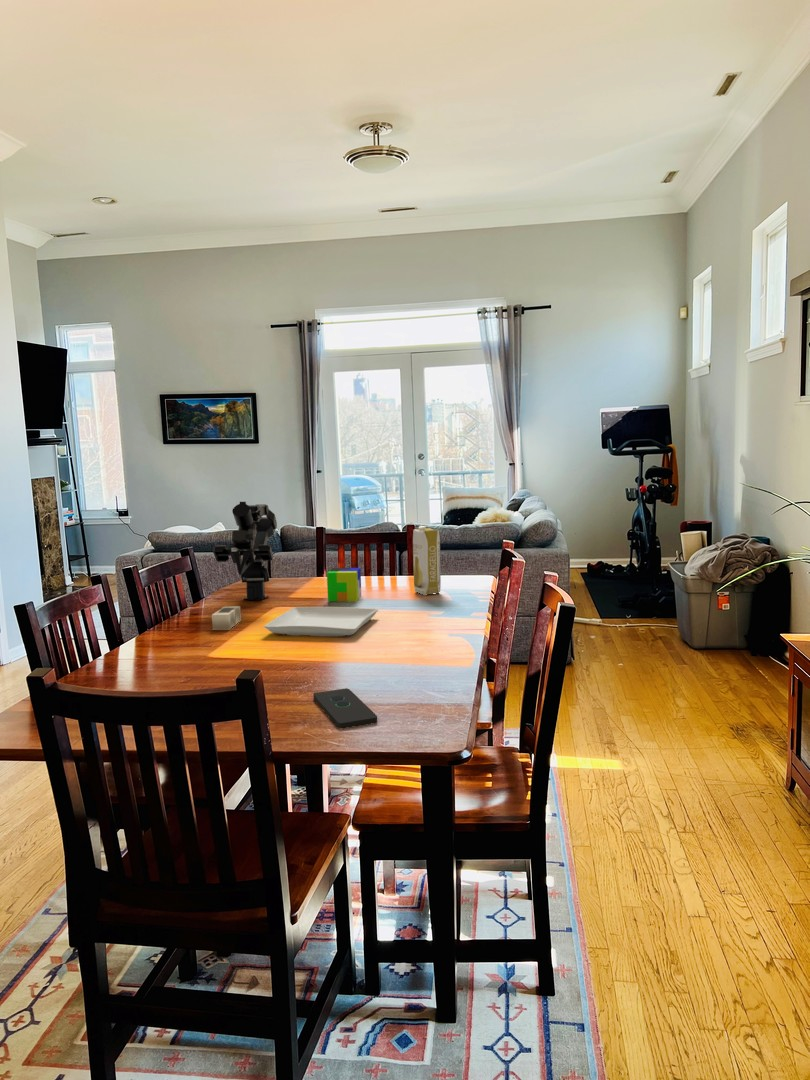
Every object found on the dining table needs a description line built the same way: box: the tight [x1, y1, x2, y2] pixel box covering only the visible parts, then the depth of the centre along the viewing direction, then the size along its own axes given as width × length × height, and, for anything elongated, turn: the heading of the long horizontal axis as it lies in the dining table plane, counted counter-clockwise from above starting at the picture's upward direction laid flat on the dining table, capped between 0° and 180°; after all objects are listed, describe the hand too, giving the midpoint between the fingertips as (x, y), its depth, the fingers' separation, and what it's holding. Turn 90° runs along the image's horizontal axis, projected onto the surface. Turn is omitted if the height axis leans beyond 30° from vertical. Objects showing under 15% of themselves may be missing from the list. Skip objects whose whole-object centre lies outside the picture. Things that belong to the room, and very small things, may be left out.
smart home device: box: [312, 688, 378, 729], centre depth 161 cm, size 8×2×20 cm
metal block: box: [211, 605, 242, 631], centre depth 237 cm, size 5×5×12 cm
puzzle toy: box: [326, 567, 362, 602], centre depth 273 cm, size 10×10×10 cm
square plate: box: [263, 606, 379, 637], centre depth 232 cm, size 27×27×4 cm
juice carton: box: [412, 525, 442, 596], centre depth 277 cm, size 9×8×24 cm
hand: (239, 574), depth 254 cm, fingers closed
